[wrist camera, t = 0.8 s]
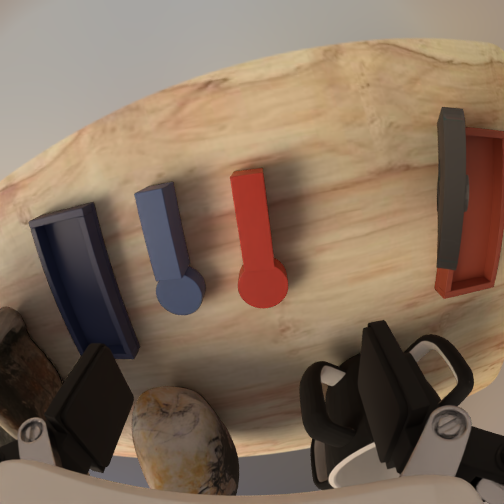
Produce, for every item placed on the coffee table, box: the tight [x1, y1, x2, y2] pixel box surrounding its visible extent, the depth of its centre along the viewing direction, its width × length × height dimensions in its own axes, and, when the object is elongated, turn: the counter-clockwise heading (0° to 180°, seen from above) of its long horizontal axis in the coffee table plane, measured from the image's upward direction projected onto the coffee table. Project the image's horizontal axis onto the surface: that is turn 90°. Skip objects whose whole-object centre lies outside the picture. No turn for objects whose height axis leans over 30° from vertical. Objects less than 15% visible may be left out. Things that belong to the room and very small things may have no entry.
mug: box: [300, 334, 474, 490], centre depth 25 cm, size 16×16×12 cm
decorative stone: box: [132, 386, 239, 496], centre depth 26 cm, size 18×9×15 cm, turn 18°
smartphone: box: [437, 107, 469, 270], centre depth 16 cm, size 7×1×15 cm
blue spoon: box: [134, 182, 206, 315], centre depth 24 cm, size 11×4×3 cm, turn 8°
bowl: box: [0, 307, 62, 447], centre depth 26 cm, size 27×26×15 cm
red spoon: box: [230, 168, 288, 308], centre depth 23 cm, size 11×4×3 cm, turn 8°
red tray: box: [435, 127, 504, 299], centre depth 22 cm, size 15×7×2 cm, turn 8°
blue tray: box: [29, 202, 140, 359], centre depth 26 cm, size 15×7×2 cm, turn 8°
